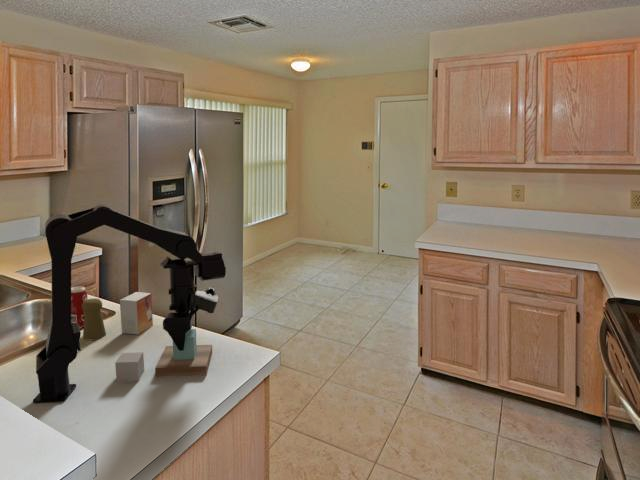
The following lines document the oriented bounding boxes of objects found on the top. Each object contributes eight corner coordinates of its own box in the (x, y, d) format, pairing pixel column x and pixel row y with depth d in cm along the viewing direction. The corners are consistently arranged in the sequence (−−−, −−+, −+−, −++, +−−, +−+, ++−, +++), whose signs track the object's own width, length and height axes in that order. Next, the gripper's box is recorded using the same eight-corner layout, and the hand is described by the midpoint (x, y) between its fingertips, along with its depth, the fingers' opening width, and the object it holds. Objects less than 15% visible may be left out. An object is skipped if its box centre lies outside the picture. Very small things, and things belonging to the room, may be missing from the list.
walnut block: (206, 377, 107) (206, 366, 106) (155, 379, 105) (155, 368, 105) (212, 355, 119) (212, 344, 118) (166, 356, 117) (166, 346, 116)
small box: (138, 335, 128) (136, 301, 126) (121, 333, 129) (118, 299, 127) (153, 325, 136) (151, 292, 134) (137, 323, 137) (135, 291, 135)
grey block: (138, 381, 103) (137, 361, 102) (116, 382, 103) (115, 362, 102) (144, 370, 108) (143, 352, 107) (123, 371, 108) (121, 353, 107)
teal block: (194, 359, 110) (193, 337, 108) (173, 360, 109) (172, 337, 108) (196, 350, 114) (195, 328, 113) (176, 351, 114) (175, 329, 112)
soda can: (85, 321, 138) (82, 284, 136) (92, 325, 135) (89, 288, 132) (67, 325, 134) (64, 288, 132) (74, 330, 131) (71, 292, 128)
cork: (83, 333, 129) (80, 297, 127) (106, 330, 131) (103, 295, 129) (82, 341, 124) (78, 304, 121) (106, 338, 126) (103, 301, 124)
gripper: (211, 294, 100) (213, 358, 103) (219, 272, 118) (220, 327, 121) (160, 295, 98) (164, 360, 101) (176, 273, 116) (178, 328, 119)
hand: (184, 342), depth 111 cm, fingers open, 9 cm apart
